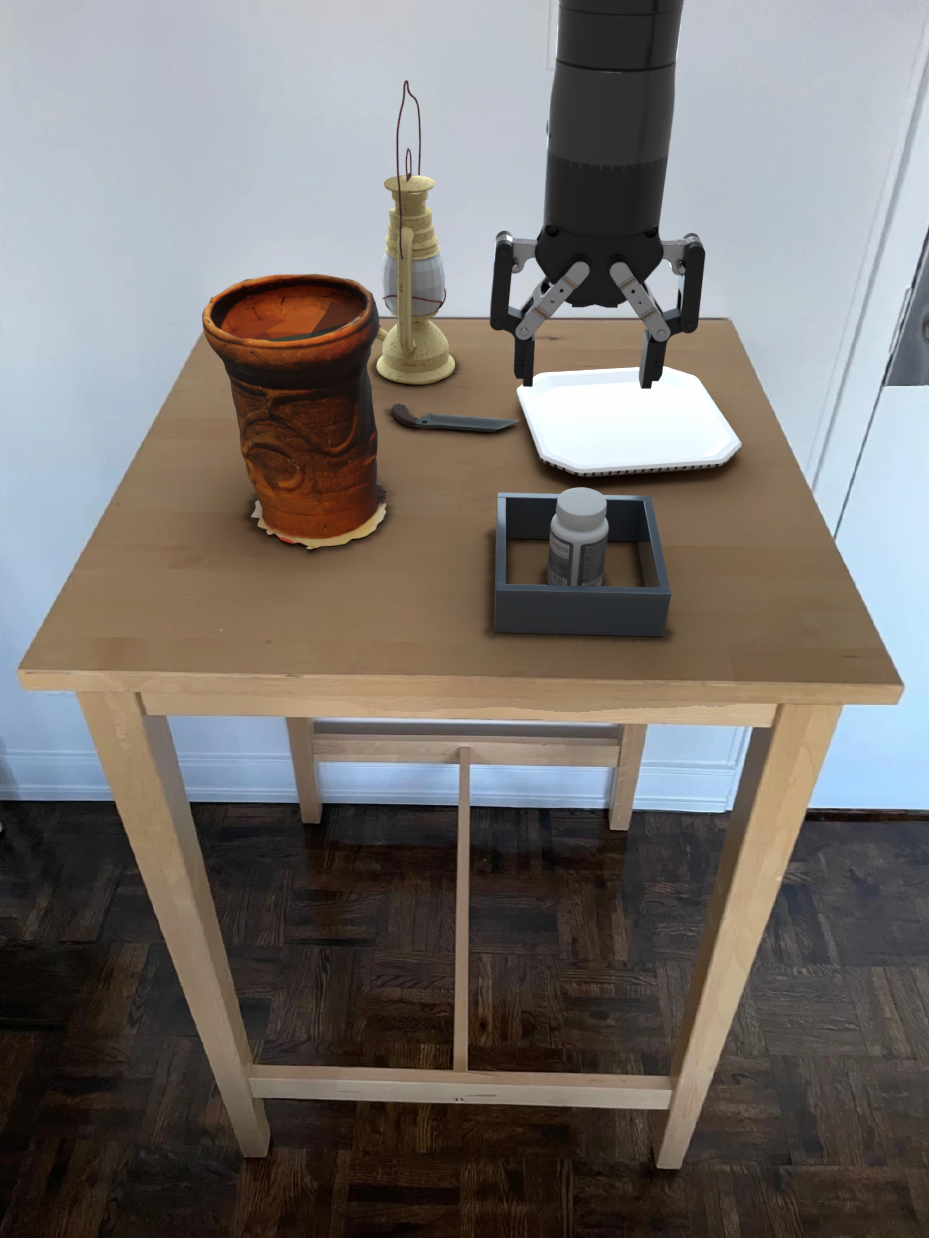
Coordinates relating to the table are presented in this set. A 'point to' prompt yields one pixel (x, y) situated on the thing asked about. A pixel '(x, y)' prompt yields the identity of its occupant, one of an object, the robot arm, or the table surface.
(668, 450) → the plate
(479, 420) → the knife
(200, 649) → the table surface
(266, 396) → the vessel
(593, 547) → the pill bottle
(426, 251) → the lantern
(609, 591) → the square frame
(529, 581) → the table surface
